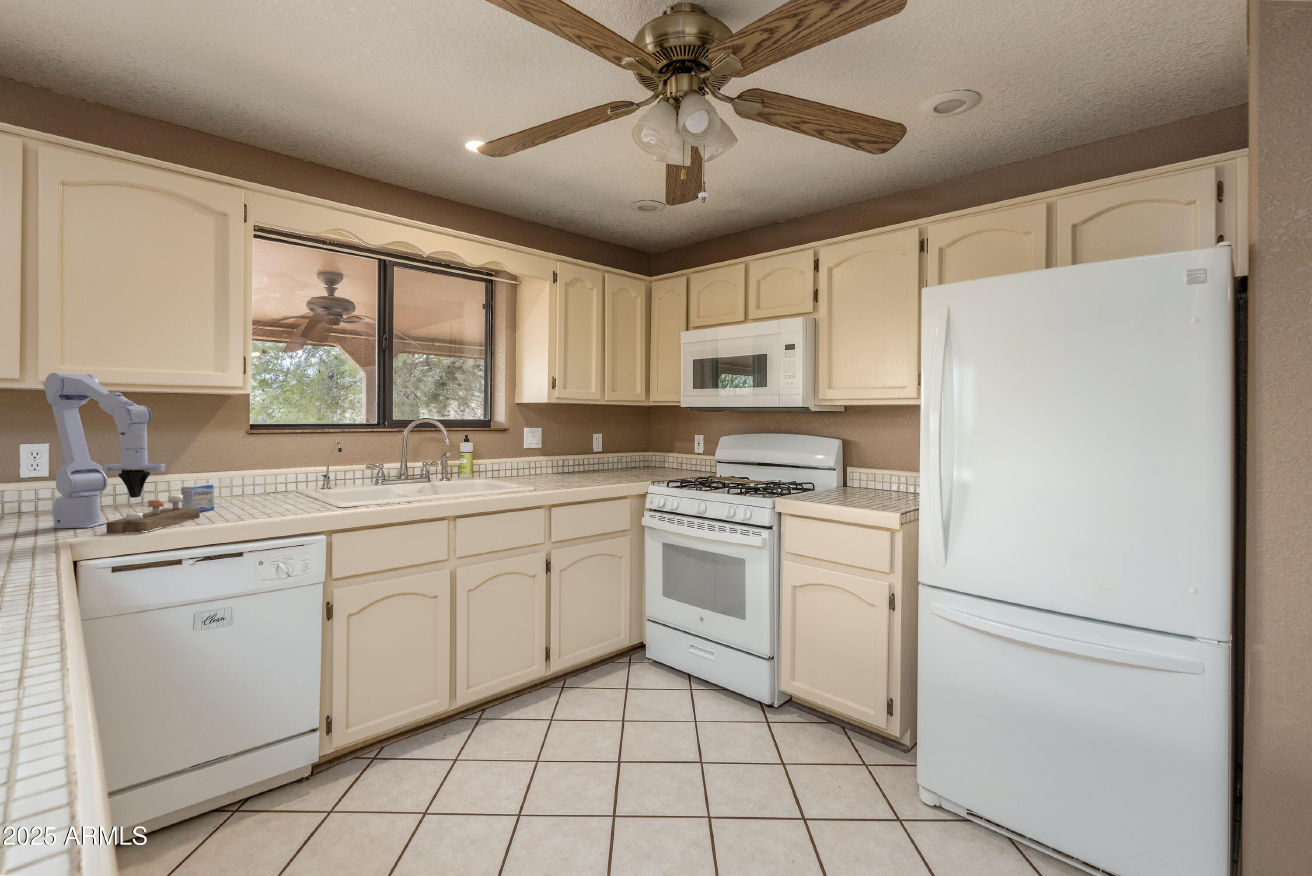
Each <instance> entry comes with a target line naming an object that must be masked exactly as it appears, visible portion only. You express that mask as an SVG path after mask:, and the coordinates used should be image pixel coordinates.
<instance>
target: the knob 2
mask: <svg viewBox="0 0 1312 876" xmlns="http://www.w3.org/2000/svg"><path fill="white" fill-rule="evenodd" d="M182 501H183V495H181V494H174V495H168V496H167V502H168V503H172V507H171V508H172V510H179V508H180V503H182Z"/></svg>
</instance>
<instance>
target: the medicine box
mask: <svg viewBox="0 0 1312 876" xmlns="http://www.w3.org/2000/svg"><path fill="white" fill-rule="evenodd" d="M214 487H215V486H214V484H212V483H211V484H210V483H209V484H207V483H205V484H204V483H203V484H198V485H197V484H196V485H188V486H182V487H181V490H180V493H181V494H180V495H183V501H182V502H181V508H199V510H200V513H205V512H209V510H210V511H214V510H215V489H214Z"/></svg>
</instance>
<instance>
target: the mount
mask: <svg viewBox="0 0 1312 876" xmlns="http://www.w3.org/2000/svg"><path fill="white" fill-rule="evenodd" d="M159 509H160V515H153V511H152V510H151V511H148V512H144V513H143V512H142V513H143V520H140V521H126V517H123V518H118V519H116V520H111V521H109V522H106V523H105V527H106V534H126V533H125V532H142V531H149V530H152V529H155V528H159V527H165V526H168V527H170V526H169V525H172V524H175V525H179V524H182V523H185V522H184V521H186V522H188V521H187V520H189V521H192V520H195V519H194V518H196V519H199V518H200V517H201V516H200V513H201V512H200V510H199V508H182V507H179V510H172V507H171V508H169V507H165V508H159ZM198 517H199V518H198ZM191 519H192V520H191ZM181 522H182V523H181ZM178 523H179V524H178ZM172 526H173V525H172ZM165 528H166V527H165Z"/></svg>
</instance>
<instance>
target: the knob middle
mask: <svg viewBox="0 0 1312 876" xmlns="http://www.w3.org/2000/svg"><path fill="white" fill-rule="evenodd" d="M164 506H165V503H164V499H163V498H154V499H149V500H147V508H152V509H151V511H153V515H160V509H161V508H160V507H164Z"/></svg>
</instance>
